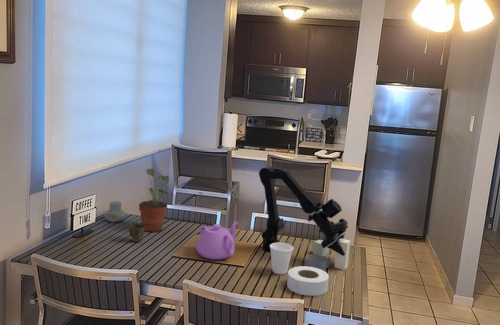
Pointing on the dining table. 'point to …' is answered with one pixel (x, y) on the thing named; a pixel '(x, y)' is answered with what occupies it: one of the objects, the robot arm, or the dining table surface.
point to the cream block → (342, 261)
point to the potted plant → (154, 207)
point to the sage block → (319, 249)
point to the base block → (317, 262)
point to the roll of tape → (307, 281)
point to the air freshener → (115, 212)
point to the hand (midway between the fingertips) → (345, 253)
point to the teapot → (216, 242)
